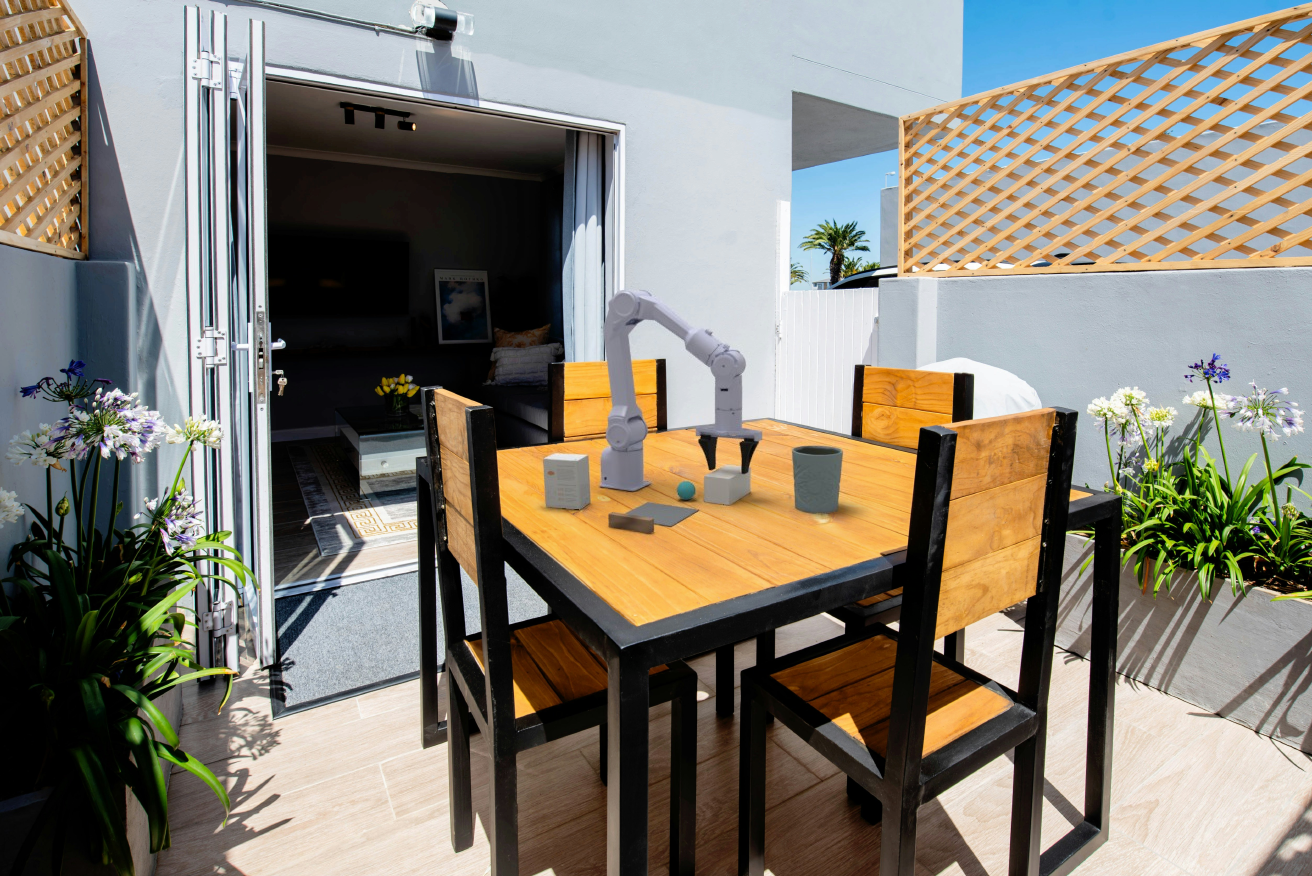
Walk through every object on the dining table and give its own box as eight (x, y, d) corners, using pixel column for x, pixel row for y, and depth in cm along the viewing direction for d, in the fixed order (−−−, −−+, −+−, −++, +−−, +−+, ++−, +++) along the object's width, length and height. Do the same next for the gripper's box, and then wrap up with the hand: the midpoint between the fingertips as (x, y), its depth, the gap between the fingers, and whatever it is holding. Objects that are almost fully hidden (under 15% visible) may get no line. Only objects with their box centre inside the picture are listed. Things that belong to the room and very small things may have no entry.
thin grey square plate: (616, 518, 139) (616, 517, 139) (647, 502, 149) (647, 502, 149) (670, 527, 133) (670, 525, 133) (699, 510, 143) (699, 509, 143)
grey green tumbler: (812, 517, 138) (814, 457, 136) (780, 504, 147) (781, 447, 145) (851, 509, 143) (854, 451, 140) (818, 497, 151) (820, 442, 149)
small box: (591, 503, 150) (589, 454, 148) (579, 510, 144) (578, 460, 142) (557, 500, 152) (555, 452, 150) (544, 507, 147) (542, 457, 145)
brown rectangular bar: (608, 526, 134) (608, 513, 133) (613, 524, 135) (612, 511, 134) (650, 533, 129) (649, 520, 129) (654, 531, 131) (653, 518, 130)
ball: (673, 500, 151) (673, 482, 150) (682, 496, 154) (682, 478, 153) (690, 503, 149) (690, 484, 148) (698, 498, 152) (698, 480, 151)
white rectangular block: (704, 501, 149) (704, 475, 148) (726, 488, 159) (726, 464, 158) (729, 505, 147) (729, 478, 146) (750, 491, 157) (750, 467, 156)
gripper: (689, 409, 150) (689, 471, 152) (753, 413, 142) (753, 478, 145) (703, 404, 156) (703, 465, 158) (766, 408, 149) (765, 471, 151)
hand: (728, 471), depth 152 cm, fingers open, 7 cm apart
